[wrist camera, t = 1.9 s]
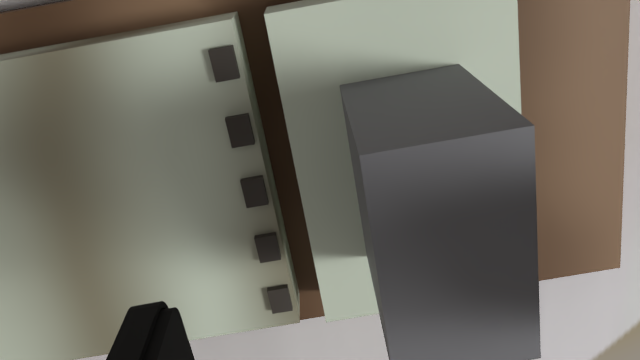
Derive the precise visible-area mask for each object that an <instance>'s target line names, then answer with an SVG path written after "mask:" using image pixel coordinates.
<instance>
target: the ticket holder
mask: <svg viewBox="0 0 640 360" xmlns="http://www.w3.org/2000/svg"><path fill="white" fill-rule="evenodd" d="M296 1H302V0H65V1H59V2H54V3H48V4H43V5H37V6H32V7H27V8H21V9H16V10H10V11H5V12H0V360H74V359H80V358H86V357H92V356H99V355H105V354H109V352H110V350H111V347H112V345H113V343H114V341H115V338H116V336H117V334H118V332H119V329H120V327H121V325H122V323H123V320H124V318H125V316H126V313H127V311H128V309H129V308H130V307H132V306H137V305H142V304H148V303H154V302H159V301H164V302H165V303H166V304H167V306H168V308H173V307H176V308H177V309H178V310H179V312H180V315H181V318H182V321H183V324H184V327H185V331H186V334H187V337H188V340H189V341H190V340H196V339H202V338H208V337H214V336H221V335H227V334H233V333H239V332H245V331H251V330H257V329H263V328H269V327H275V326H282V325H288V324H294V323H300V320H303V319H309V318H315V317H321V316H325V314H324V309H323V304H322V299H321V294H320V289H319V284H318V279H317V274H316V269H315V264H314V259H313V255H312V250H311V245H310V240H309V235H308V230H307V225H306V220H305V215H304V210H303V205H302V200H301V195H300V190H299V185H298V180H297V176H296V171H295V166H294V161H293V156H292V151H291V146H290V141H289V136H288V131H287V126H286V121H285V116H284V111H283V106H282V101H281V97H280V92H279V87H278V82H277V77H276V72H275V67H274V62H273V57H272V52H271V47H270V42H269V37H268V32H267V27H266V23H265V18H264V13H265V10H266V8H267V7H269V6H274V5H280V4H285V3H291V2H296ZM517 3H518V31H519V59H520V87H521V115H522V116H524V117H525V118H526V119H527V120H528V121H530V122H531V123H532V124H533V125H534V128H535V166H536V203H537V240H538V278H539V281H541V280H547V279H553V278H559V277H565V276H571V275H577V274H583V273H589V272H595V271H602V270H608V269H614V268H620V256H621V229H622V202H623V176H624V149H625V123H626V96H627V70H628V43H629V17H630V0H517Z"/></svg>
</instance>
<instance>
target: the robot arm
mask: <svg viewBox="0 0 640 360" xmlns="http://www.w3.org/2000/svg"><path fill="white" fill-rule="evenodd" d="M106 360H194V356H193V353H192V350H191V347H190V343H189V340H188V337H187V334H186V331H185V327H184V324H183V321H182V318H181V315H180V312H179V310H178V309H177V308H176V307H173V308H168V306H167V304H166V303H165V302H164V301H159V302H154V303H148V304H142V305H137V306H132V307H130V308H129V309H128V311H127V313H126V316H125V318H124V320H123V323H122V325H121V327H120V329H119V332H118V334H117V336H116V338H115V341H114V343H113V345H112V347H111V350H110V352H109V354H108V357H107V359H106Z"/></svg>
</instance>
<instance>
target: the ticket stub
mask: <svg viewBox="0 0 640 360" xmlns="http://www.w3.org/2000/svg"><path fill="white" fill-rule="evenodd" d="M264 18H265V23H266V27H267V32H268V37H269V42H270V47H271V52H272V57H273V62H274V67H275V72H276V77H277V82H278V87H279V92H280V97H281V101H282V106H283V111H284V116H285V121H286V126H287V131H288V136H289V141H290V146H291V151H292V156H293V161H294V166H295V171H296V176H297V180H298V185H299V190H300V195H301V200H302V205H303V210H304V215H305V220H306V225H307V230H308V235H309V240H310V245H311V250H312V255H313V259H314V264H315V269H316V274H317V279H318V284H319V289H320V294H321V299H322V304H323V309H324V314H325V319H326V322H331V321H337V320H343V319H350V318H356V317H362V316H368V315H374V314H380V319H381V324H382V328H383V333H384V338H385V342H386V347H387V351H388V356H389V360H531V359H538V358H541V352H540V315H539V278H538V240H537V203H536V166H535V128H534V125H533V124H532V123H531V122H530V121H528V120H527V119H526V118H525V117H524V116H522V115H521V87H520V59H519V31H518V3H517V0H302V1H296V2H291V3H285V4H280V5H274V6H269V7H267V8H266V10H265V13H264Z"/></svg>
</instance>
